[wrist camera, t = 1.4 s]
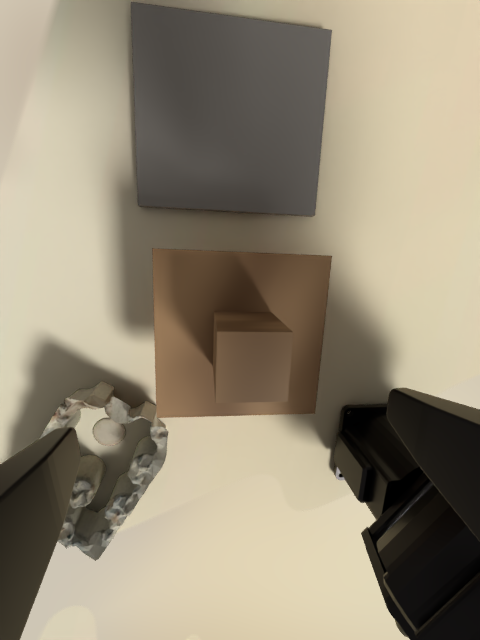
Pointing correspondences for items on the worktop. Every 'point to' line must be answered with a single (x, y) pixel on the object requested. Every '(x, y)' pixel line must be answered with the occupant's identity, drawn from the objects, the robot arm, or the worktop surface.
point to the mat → (227, 111)
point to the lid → (238, 332)
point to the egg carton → (148, 459)
